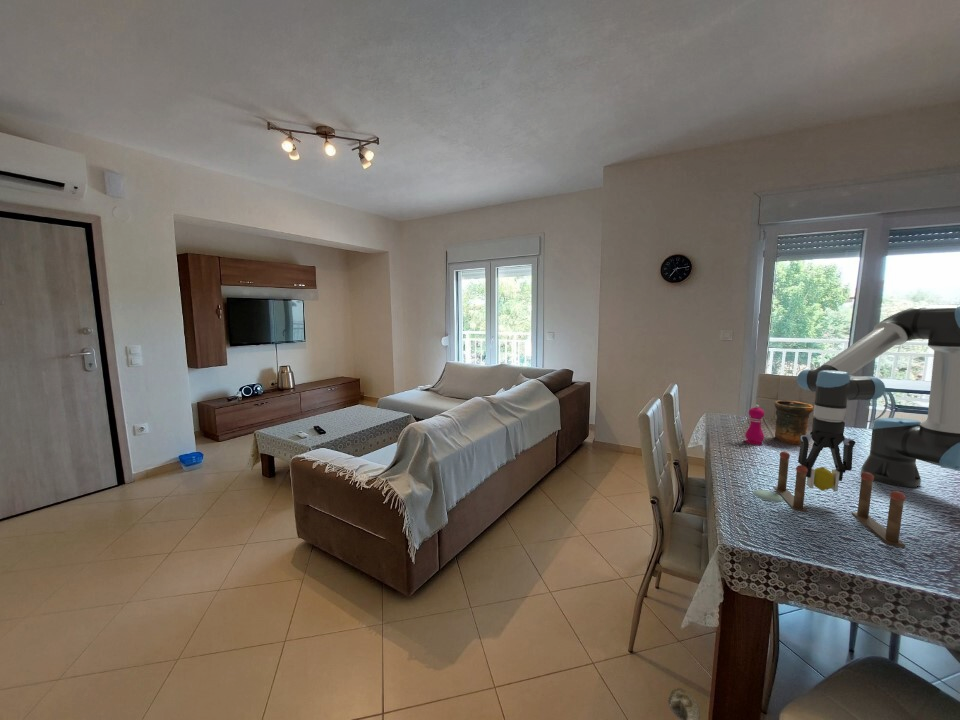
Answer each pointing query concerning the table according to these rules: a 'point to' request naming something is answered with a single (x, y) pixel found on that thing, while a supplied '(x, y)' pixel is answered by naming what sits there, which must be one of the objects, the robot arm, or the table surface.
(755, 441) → the pepper mill
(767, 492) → the pad
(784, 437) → the vessel
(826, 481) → the lemon
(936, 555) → the table surface
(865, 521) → the gate course
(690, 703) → the cake
